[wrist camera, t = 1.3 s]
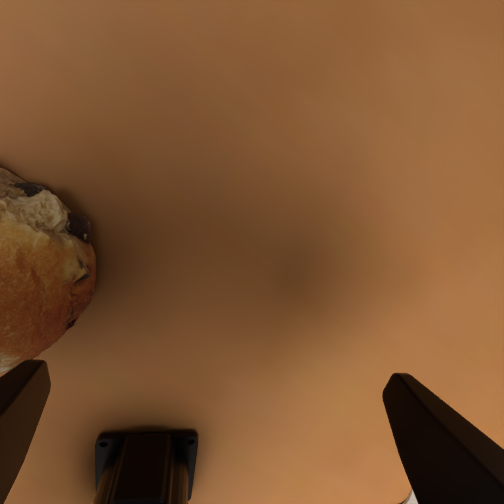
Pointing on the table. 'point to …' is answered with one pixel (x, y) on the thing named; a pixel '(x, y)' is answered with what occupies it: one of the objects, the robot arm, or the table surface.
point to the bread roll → (39, 269)
